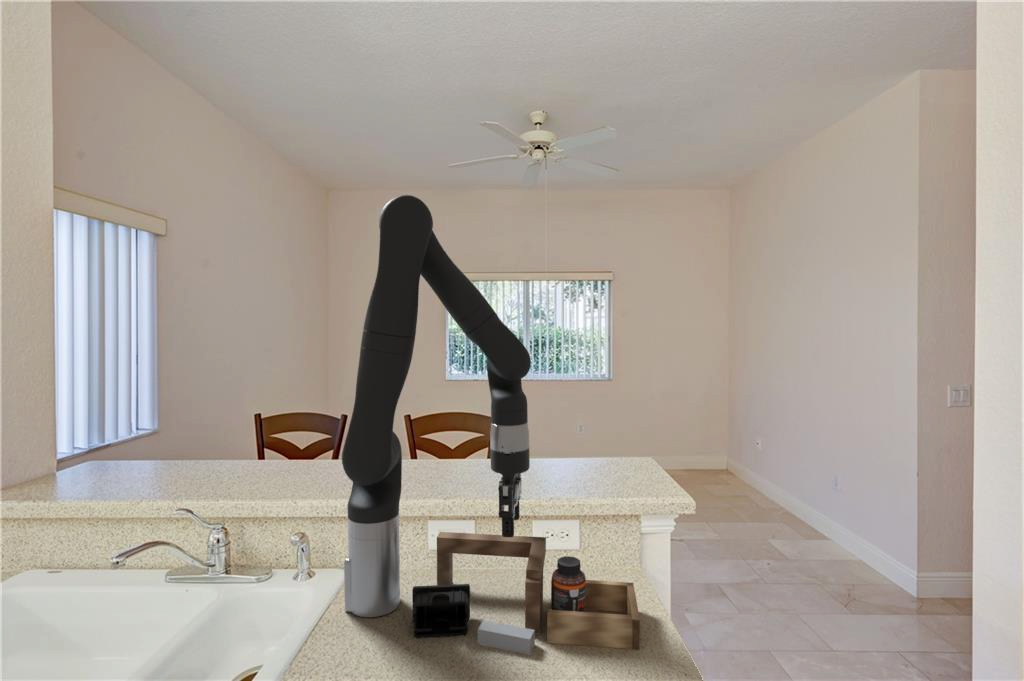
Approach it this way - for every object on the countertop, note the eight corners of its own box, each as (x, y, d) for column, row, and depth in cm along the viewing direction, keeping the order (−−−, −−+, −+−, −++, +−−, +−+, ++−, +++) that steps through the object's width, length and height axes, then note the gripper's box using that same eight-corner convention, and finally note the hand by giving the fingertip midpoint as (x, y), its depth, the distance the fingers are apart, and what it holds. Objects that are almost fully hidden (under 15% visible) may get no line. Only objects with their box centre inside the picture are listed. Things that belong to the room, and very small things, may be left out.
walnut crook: (418, 625, 99) (418, 566, 99) (440, 582, 115) (440, 531, 114) (539, 634, 97) (540, 574, 96) (545, 589, 112) (545, 537, 111)
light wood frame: (547, 642, 94) (547, 613, 94) (551, 603, 107) (551, 577, 106) (639, 649, 92) (639, 619, 92) (632, 609, 105) (633, 582, 104)
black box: (469, 613, 103) (469, 577, 103) (470, 636, 96) (470, 597, 96) (413, 616, 102) (413, 579, 102) (410, 639, 95) (410, 600, 95)
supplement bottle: (583, 635, 97) (584, 570, 96) (549, 630, 98) (549, 566, 97) (586, 616, 102) (587, 555, 102) (553, 612, 104) (554, 552, 103)
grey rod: (477, 645, 94) (477, 629, 94) (484, 636, 97) (483, 620, 96) (529, 656, 91) (529, 639, 91) (534, 646, 94) (534, 629, 94)
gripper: (496, 436, 117) (497, 513, 118) (484, 454, 103) (485, 542, 104) (532, 437, 116) (533, 514, 117) (525, 455, 102) (526, 543, 103)
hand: (511, 527), depth 110 cm, fingers open, 8 cm apart
